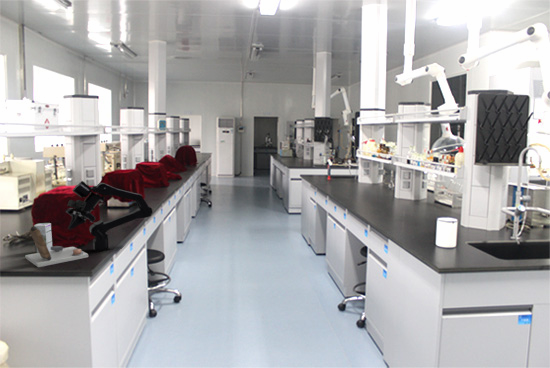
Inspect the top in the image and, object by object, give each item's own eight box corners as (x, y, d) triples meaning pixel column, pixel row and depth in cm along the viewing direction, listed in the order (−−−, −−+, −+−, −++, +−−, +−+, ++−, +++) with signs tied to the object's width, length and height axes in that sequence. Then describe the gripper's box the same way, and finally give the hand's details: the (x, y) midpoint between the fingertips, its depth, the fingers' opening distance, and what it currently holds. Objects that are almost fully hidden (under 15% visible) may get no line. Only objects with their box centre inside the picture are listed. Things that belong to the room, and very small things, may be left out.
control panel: (73, 249, 213) (73, 245, 213) (88, 257, 199) (88, 252, 199) (25, 258, 198) (25, 254, 197) (37, 267, 184) (37, 262, 183)
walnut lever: (46, 256, 193) (32, 224, 188) (52, 258, 190) (38, 226, 184) (41, 259, 192) (26, 227, 186) (47, 261, 188) (33, 228, 182)
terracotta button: (79, 252, 201) (79, 248, 200) (82, 253, 198) (82, 249, 198) (71, 253, 198) (71, 249, 198) (74, 255, 196) (74, 251, 195)
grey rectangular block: (59, 249, 207) (59, 246, 207) (62, 250, 205) (63, 247, 205) (50, 249, 203) (50, 246, 203) (53, 250, 201) (53, 247, 201)
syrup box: (53, 250, 212) (51, 222, 210) (47, 253, 206) (45, 225, 204) (41, 250, 212) (39, 222, 210) (35, 253, 206) (33, 225, 204)
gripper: (68, 192, 207) (47, 217, 200) (87, 195, 196) (66, 221, 188) (84, 205, 214) (64, 230, 207) (104, 209, 203) (83, 235, 196)
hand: (69, 228), depth 199 cm, fingers closed
